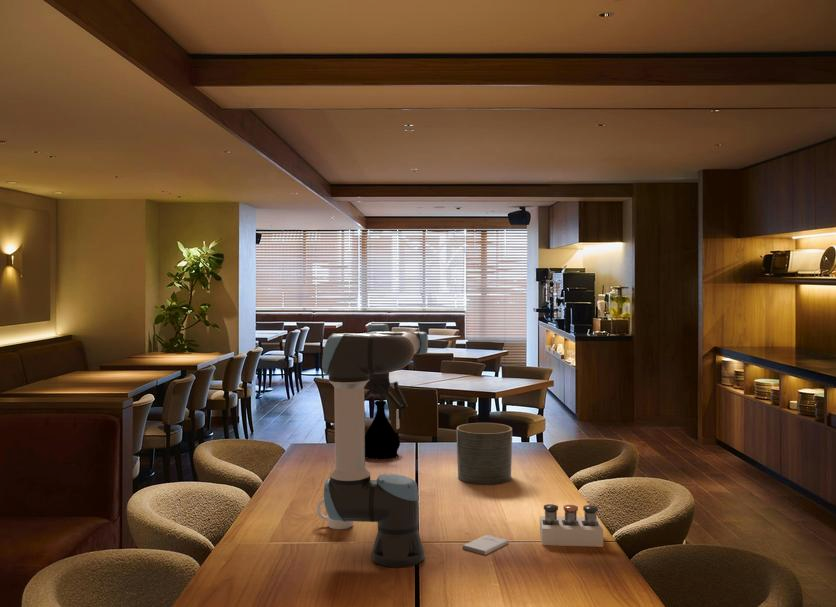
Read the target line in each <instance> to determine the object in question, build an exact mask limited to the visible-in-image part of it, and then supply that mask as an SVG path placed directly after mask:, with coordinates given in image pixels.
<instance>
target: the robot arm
mask: <svg viewBox="0 0 836 607" xmlns="http://www.w3.org/2000/svg"><path fill="white" fill-rule="evenodd" d="M366 329H367V330H366V333H351V332H350V333H349V332H348V333H347V332H344V333H333V334H330V335H329V336H328V338H327V339H326V342H325V345H324V347H323V353H322V361H321V367H322V372H323V374H325V375H328V382H329V383H330V384H331V385H332V386H333V388H334V390H333V391H334V393H333V394H334V399H333V400H334V402H333V403H334V457H335V458H334V470H333V471H332V472H331V473H330V474H329V478H328V479H326V480H325V482H324V486H323V491H324V492H323V499H324V503H323V504H324V509H325V512H326V514H327V516H329V517H330V518H331V519H332V520H338V521H344V522H347V521H353V522H359V523H360V522H361V523H363V522H364V523H366V522H367V523H369V522H370V523H374V522H375V523H377V533H376V537H375V540H374V542H373V546H372V548H371V561H372V562H374V564H375V563H376V564H377V565H378V566H383V567H388V568H406V567H412V566H416V565H418V564H420V563H422V562H423V561H424V560H425V549H424V545H423V541H422V539H421V536H420V533H419V502H418V501H419V498H420V496H419V492H418V491H419V490H418V484H417V482H416V480H414V479H413V478H411V477H408V476H405V475H401V474H396V473H395V474H394V473H388V474H387V473H384V474H380V475H379V476H377V479H376V480H375V479H374V480H373V479H371V472H370V470H368V469H367V468H366V458H365V434H366V430H365V427H366V425H365V424H366V423H365V420H366V419H365V401H367V399H368V398H369V397H370V395H371V394H372V395H375V396H376V395H381V396H383V395H385V396H387V398H388V399H389V400H390V401H391V403H393V405H394V406H395V407H396V408H397V409H396V411H395V413H396V414H395V415H396V419H395V423H396V427H395V429H396V430H399V429H400V420H402V419H403V410H405V409H407V408H408V403H407V401H406V400H405V397H404V395H403V393H402V391H401V390H400V387H399V381H394V382H393V381H391V382H390V373H393V372H396V371H399V370H400V369H401V370H402V369H403V368H405V367H407V366H408V365H409V364H411V362H412V361H413V359H414V356H415V355H425V354H427V353H428V349H429V336H428V333H427V332H426V331H418V330H416V331H389V325H388V324H386V323H370V324H368V325H367V328H366ZM365 386H366V387H367V389H368V391H367V392H366V393H365ZM390 387H392V389H394V391H395V393H396V395H397V397H398V400H397V398H396V397H395V396H394V395H393V394H392V392H391V391H390ZM399 401H400V402H399Z"/></svg>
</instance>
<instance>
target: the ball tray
mask: <svg viewBox="0 0 836 607" xmlns="http://www.w3.org/2000/svg"><path fill="white" fill-rule="evenodd" d="M539 536H540V540H541V544H542V546H559V547H560V546H561V547H563V546H565V547H595V548H596V547H599V548H602V547H604V528H603V526H602V524H601V522H600V520H599V518H598V517H597V526H585V516H583V517H582V516H577V526H565V516H557V525H545V515H543V516H542V515H540V516H539Z"/></svg>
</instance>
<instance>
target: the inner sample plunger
mask: <svg viewBox="0 0 836 607" xmlns="http://www.w3.org/2000/svg"><path fill="white" fill-rule="evenodd" d="M543 510H544V516H545V525H557V517H558V510H559V506H558V505H557V504H551V503H550V504H544V505H543Z"/></svg>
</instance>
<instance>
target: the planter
mask: <svg viewBox="0 0 836 607" xmlns="http://www.w3.org/2000/svg"><path fill="white" fill-rule="evenodd" d="M456 454H457V455H456V458H457V461H456V462H457V478H458V479H459V481H461V482H464V483H468V484H473V485H474V484H475V485H479V486H480V485H483V486H486V485H488V486H489V485H490V486H491V485H500V484H504V483H507V482H509V481H510V480H511V479H512V460H513V456H512V455H513V427H511V426H509V425H507V424H503V423H495V422H474V423H473V422H472V423H465V424H461V425H458V426H457V427H456Z"/></svg>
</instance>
